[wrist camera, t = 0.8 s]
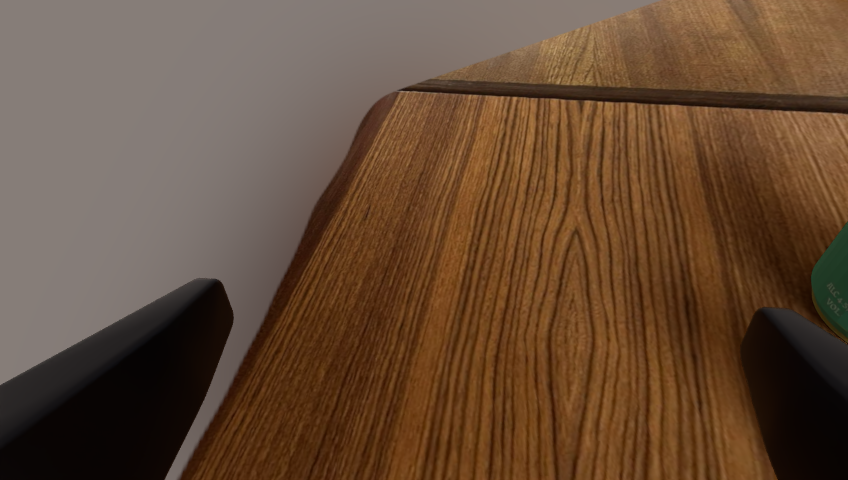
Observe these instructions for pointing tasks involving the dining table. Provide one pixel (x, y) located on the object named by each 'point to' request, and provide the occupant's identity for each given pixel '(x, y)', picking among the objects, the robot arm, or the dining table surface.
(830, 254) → the beverage can
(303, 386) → the dining table surface
